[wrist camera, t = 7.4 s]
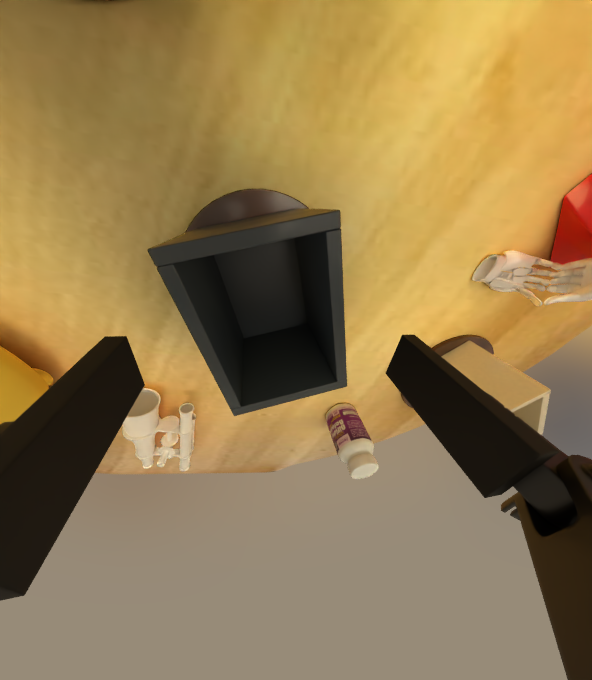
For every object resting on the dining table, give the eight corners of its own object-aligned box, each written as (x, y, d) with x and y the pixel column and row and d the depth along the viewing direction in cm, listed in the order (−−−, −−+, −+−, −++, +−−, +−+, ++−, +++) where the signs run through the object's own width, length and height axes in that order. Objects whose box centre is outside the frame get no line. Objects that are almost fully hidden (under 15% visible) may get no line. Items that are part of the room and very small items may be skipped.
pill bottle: (329, 402, 34) (353, 462, 26) (358, 401, 35) (390, 458, 27) (321, 423, 37) (341, 484, 29) (348, 422, 38) (375, 479, 30)
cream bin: (414, 371, 33) (472, 429, 25) (469, 339, 32) (551, 389, 23) (433, 413, 41) (482, 468, 32) (478, 389, 39) (541, 441, 31)
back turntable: (382, 399, 36) (384, 401, 36) (450, 321, 30) (454, 323, 29) (440, 413, 42) (442, 415, 42) (508, 350, 36) (511, 352, 35)
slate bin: (195, 228, 18) (145, 249, 9) (298, 207, 18) (340, 209, 10) (245, 358, 26) (243, 434, 17) (316, 341, 26) (348, 406, 18)
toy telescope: (183, 487, 30) (196, 450, 34) (185, 430, 23) (200, 392, 27) (120, 484, 28) (141, 445, 33) (100, 421, 21) (131, 382, 25)
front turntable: (165, 323, 22) (163, 325, 22) (202, 144, 16) (201, 142, 15) (298, 360, 28) (299, 363, 28) (365, 241, 22) (368, 242, 21)
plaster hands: (672, 334, 18) (637, 321, 23) (742, 259, 16) (687, 262, 20) (464, 292, 27) (471, 289, 32) (488, 241, 25) (491, 246, 29)
